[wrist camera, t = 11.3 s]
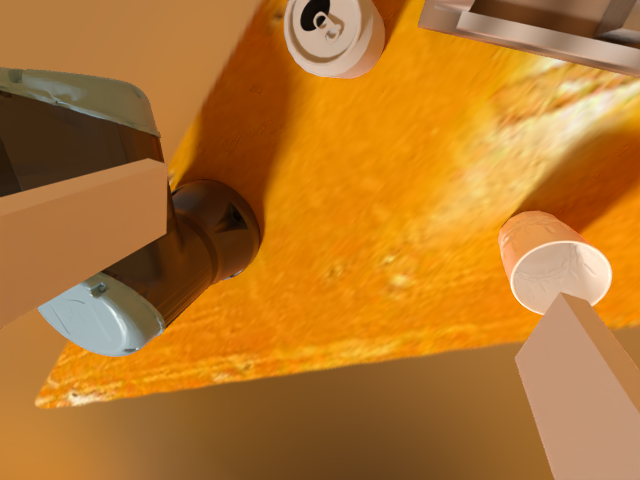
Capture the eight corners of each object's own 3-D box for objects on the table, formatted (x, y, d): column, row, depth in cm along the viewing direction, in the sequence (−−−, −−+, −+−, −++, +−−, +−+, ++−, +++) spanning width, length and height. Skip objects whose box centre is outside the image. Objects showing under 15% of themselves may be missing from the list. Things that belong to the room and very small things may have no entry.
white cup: (523, 192, 38) (553, 224, 29) (587, 227, 38) (636, 270, 29) (478, 245, 42) (492, 288, 33) (535, 278, 42) (564, 330, 33)
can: (354, -21, 34) (323, -67, 24) (401, 40, 35) (391, 21, 25) (304, 40, 38) (257, 23, 27) (348, 93, 39) (319, 97, 28)
